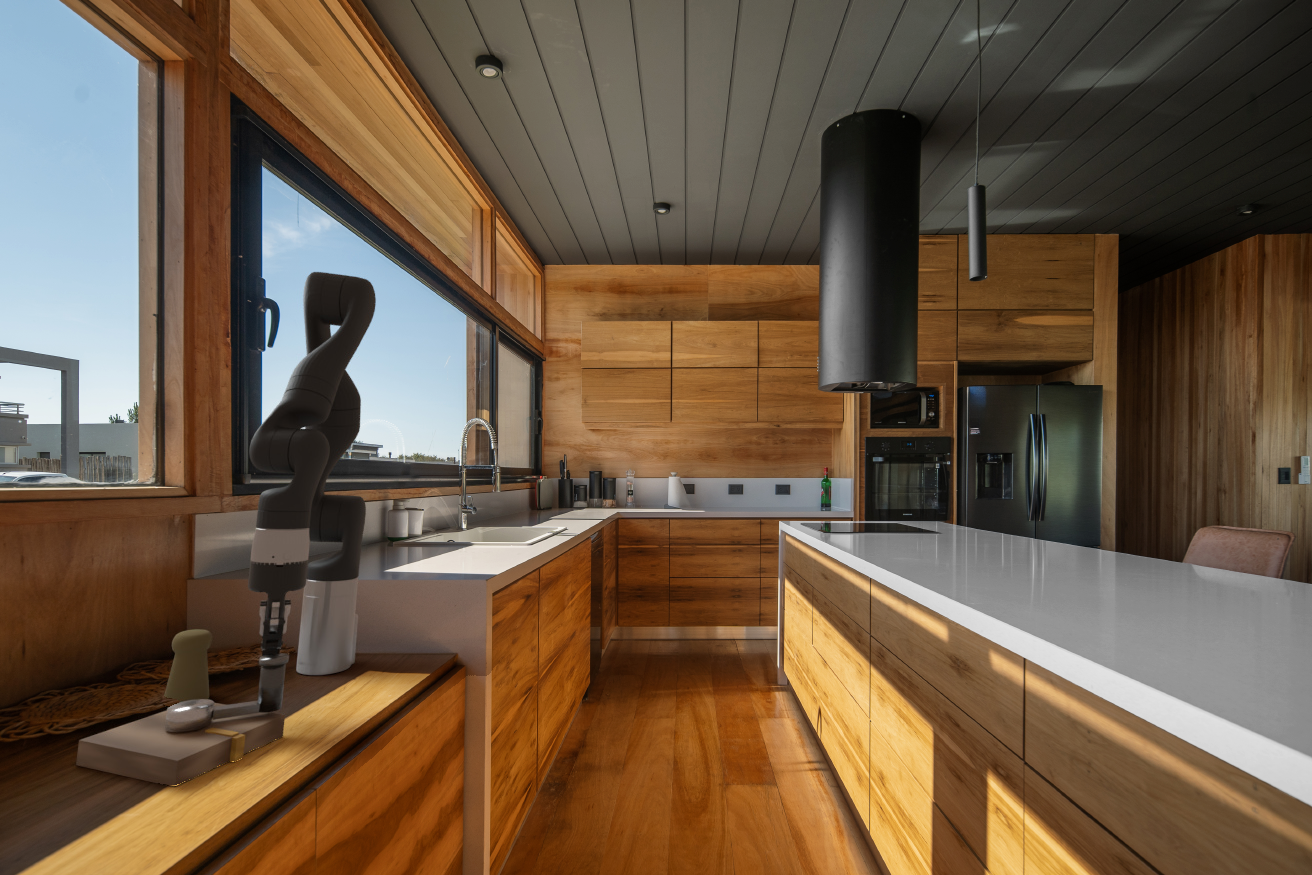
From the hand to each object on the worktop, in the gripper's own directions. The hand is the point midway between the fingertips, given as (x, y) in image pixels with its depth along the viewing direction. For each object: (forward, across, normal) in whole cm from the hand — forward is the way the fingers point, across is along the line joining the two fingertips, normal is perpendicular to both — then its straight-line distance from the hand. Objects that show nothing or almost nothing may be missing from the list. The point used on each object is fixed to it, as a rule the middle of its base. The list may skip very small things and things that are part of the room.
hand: (268, 673), depth 90 cm
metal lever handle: (+4, +6, -4) cm, 8 cm away
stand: (+7, +6, -8) cm, 13 cm away
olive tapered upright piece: (+7, -15, -11) cm, 20 cm away
